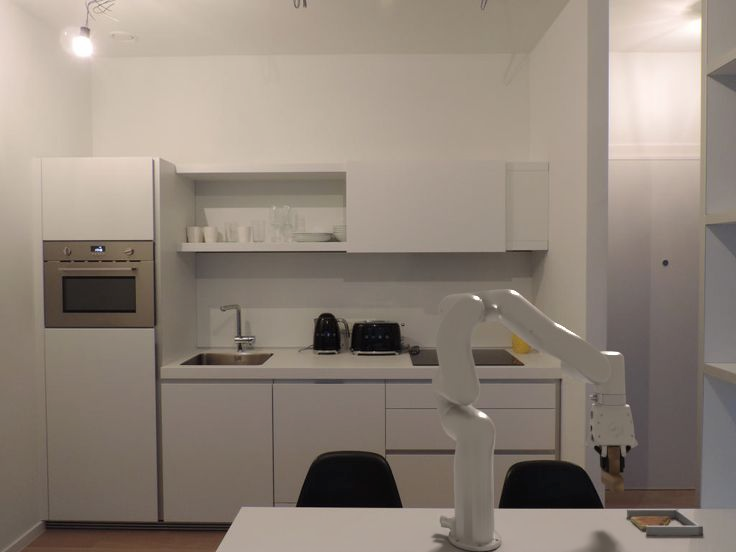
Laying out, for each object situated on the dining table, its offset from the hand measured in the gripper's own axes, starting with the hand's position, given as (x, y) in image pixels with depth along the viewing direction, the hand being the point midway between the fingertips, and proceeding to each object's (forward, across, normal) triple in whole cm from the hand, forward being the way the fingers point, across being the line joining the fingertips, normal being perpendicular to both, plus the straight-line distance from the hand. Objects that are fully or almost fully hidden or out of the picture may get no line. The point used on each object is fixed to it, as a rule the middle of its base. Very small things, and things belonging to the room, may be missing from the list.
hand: (612, 470), depth 143 cm
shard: (+15, +10, +2) cm, 18 cm away
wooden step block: (+5, 0, +1) cm, 5 cm away
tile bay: (+14, +12, 0) cm, 18 cm away
